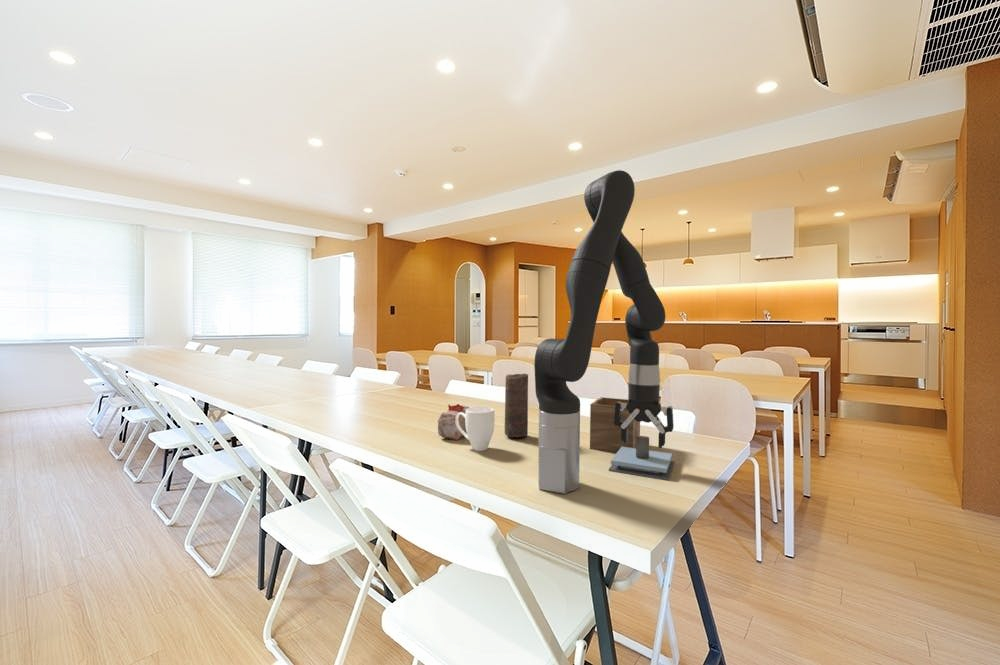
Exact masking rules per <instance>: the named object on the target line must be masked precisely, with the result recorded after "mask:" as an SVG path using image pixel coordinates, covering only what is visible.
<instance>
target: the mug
mask: <svg viewBox="0 0 1000 665" xmlns="http://www.w3.org/2000/svg"><path fill="white" fill-rule="evenodd" d="M459 415H462V416H463V417H464V418H465V425H466V431H467V433H465V432H464V431H463V430H462V428H461V427H460V425H459V421H458V418H459ZM455 423H456V426H457V428H458V430H459V431H460V432H461V433H462V434H463V437H465V439H467V441H469V444H470V445H471V449H472V450H473V451H475V452H483V451H486V450H488V448H489V445H490V443H491V440H492V437H493V434H494V431H495V408H493V407H489V406H472V407H469V408H468V409H466V414H464V413H462V412H460V413H458V414H457V416H456V419H455Z"/></svg>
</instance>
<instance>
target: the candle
mask: <svg viewBox="0 0 1000 665" xmlns="http://www.w3.org/2000/svg"><path fill="white" fill-rule="evenodd" d="M504 392H505V395H504V396H505V398H504V400H505V401H504V402H505V404H504V435H505V436H507V437H508V438H522V437H526V436H528V430H529V426H528V425H529V424H528V423H529V422H528V420H529V415H528V414H529V408H528V407H529V374H528V373H515V374H507V375H506V376H505V391H504Z"/></svg>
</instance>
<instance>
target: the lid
mask: <svg viewBox="0 0 1000 665" xmlns="http://www.w3.org/2000/svg"><path fill="white" fill-rule="evenodd" d="M672 458H673V453H672V452H664V451H656V450H650V436H646V435H640V436H636V448H629V447H621V448H620V449H619V451H618V452H615V454H614V456H613V457H612V459H610V464H611V465H618V466H620V468H626V469H633V470H639V471H645V472H651V473H658V474H659V472H663V473H667V470H668V467H669V464H670V461H672Z"/></svg>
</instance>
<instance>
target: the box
mask: <svg viewBox="0 0 1000 665" xmlns="http://www.w3.org/2000/svg"><path fill="white" fill-rule="evenodd" d="M619 401H620V402H622V403H626V404H627V403H628V398H627V399H625V398H613V397H605V396H603V397H601V396H600V397H599V398H597V399H596V400H594V401H593V402H591V403H590V405H589V406H590V409H589V414H590V416H589V449H590V450H595V451H596V450H597V451H604V452H611V453H617V452H618V451H619V449H620V448H621V447H629V448H636V436H641V422H638V421H636V420H634V419H633V420H632V421H631V422H630V423H629V424H628V426H627V428H628V442H627V443H624V441H622V439H621V427H619V426H616V425H614V416H615V404H616V403H617V402H619ZM630 415H631V414H630V413H629V411H628V410H627V408H624V410H623V411H621V421H623V422H625V420H626V419H627V418H628V417H629V416H630Z"/></svg>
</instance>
